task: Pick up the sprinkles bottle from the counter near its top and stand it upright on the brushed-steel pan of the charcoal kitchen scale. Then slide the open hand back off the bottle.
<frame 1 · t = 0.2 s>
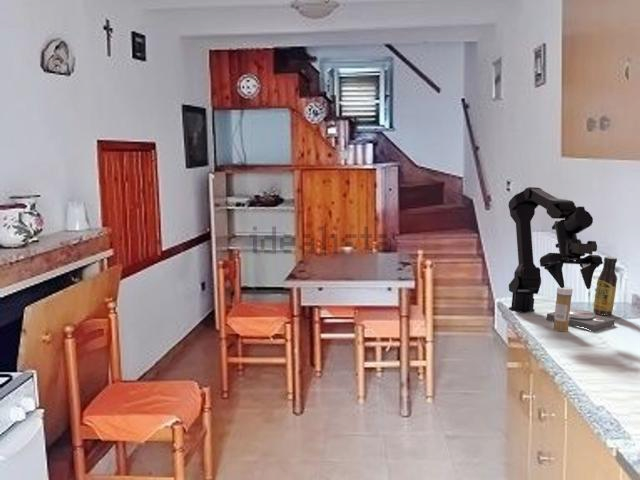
hand: (575, 288, 209), 15 cm above the worktop, tool tilted 30°, fingers open, 9 cm apart
scale pan: (574, 321, 229), resting on scale
sprinkles bottle: (560, 330, 217), on the worktop
sauce bottle: (602, 314, 242), on the worktop
scale: (580, 322, 228), on the worktop
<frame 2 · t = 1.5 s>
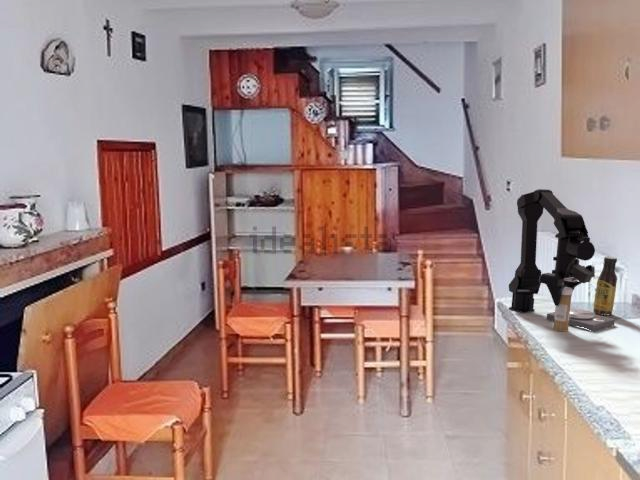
hand: (561, 304, 216), 8 cm above the worktop, tool pointing down, fingers open, 5 cm apart
sprinkles bottle: (560, 330, 217), on the worktop, touching gripper
everything else where it was.
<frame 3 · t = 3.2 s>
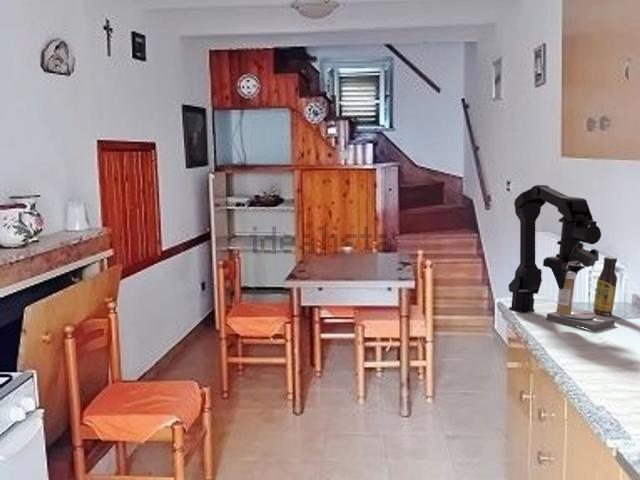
hand: (564, 288, 218), 13 cm above the worktop, tool pointing down, fingers closed on sprinkles bottle, 4 cm apart
sprinkles bottle: (563, 314, 219), point 4 cm above the worktop, touching gripper
everything else where it was.
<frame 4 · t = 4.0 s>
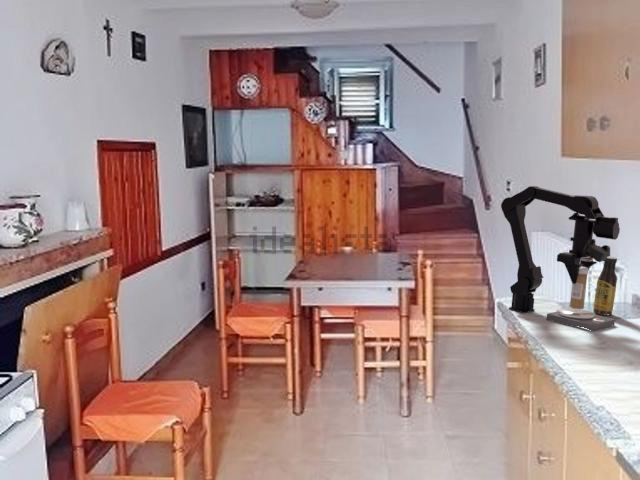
hand: (577, 282, 227), 13 cm above the worktop, tool pointing down, fingers closed on sprinkles bottle, 4 cm apart
sprinkles bottle: (576, 308, 228), point 5 cm above the worktop, touching gripper
everything else where it was.
when the fingers open (12 cm above the worktop, at t = 4.8 s): sprinkles bottle stays where it is, resting on scale pan.
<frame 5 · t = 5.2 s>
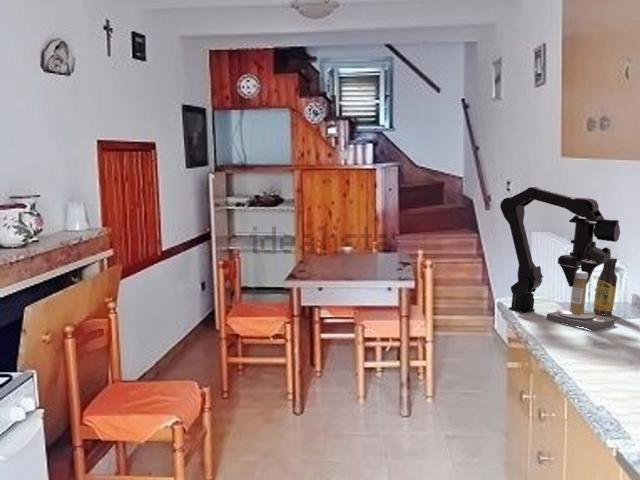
hand: (578, 285, 228), 12 cm above the worktop, tool pointing down, fingers open, 9 cm apart
sprinkles bottle: (576, 313, 229), point 3 cm above the worktop, touching scale pan
everything else where it was.
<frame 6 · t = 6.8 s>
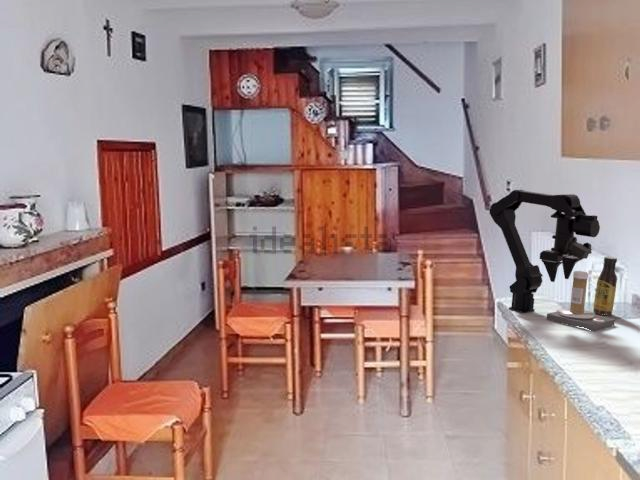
hand: (559, 280, 229), 13 cm above the worktop, tool pointing down, fingers open, 9 cm apart
nothing on the worktop moved.
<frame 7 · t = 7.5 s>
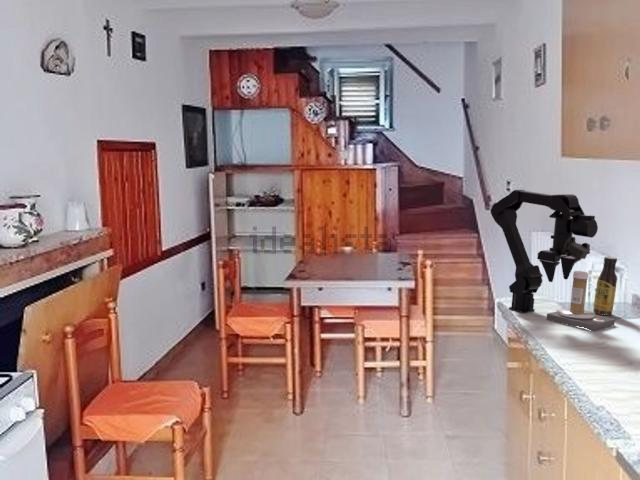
hand: (558, 280, 229), 13 cm above the worktop, tool pointing down, fingers open, 9 cm apart
nothing on the worktop moved.
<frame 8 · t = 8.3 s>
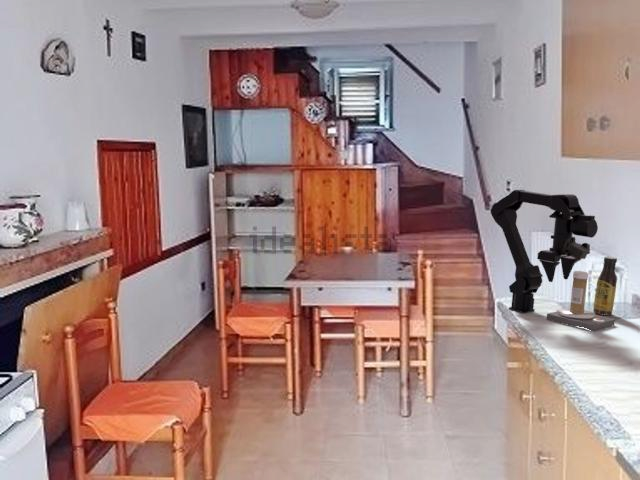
hand: (558, 280, 229), 13 cm above the worktop, tool pointing down, fingers open, 9 cm apart
nothing on the worktop moved.
at the end: sprinkles bottle inside the target area on the scale pan (0.4 cm from its centre), point 2.8 cm above the scale pan's base; sprinkles bottle tilted 0°; the gripper is holding nothing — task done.
